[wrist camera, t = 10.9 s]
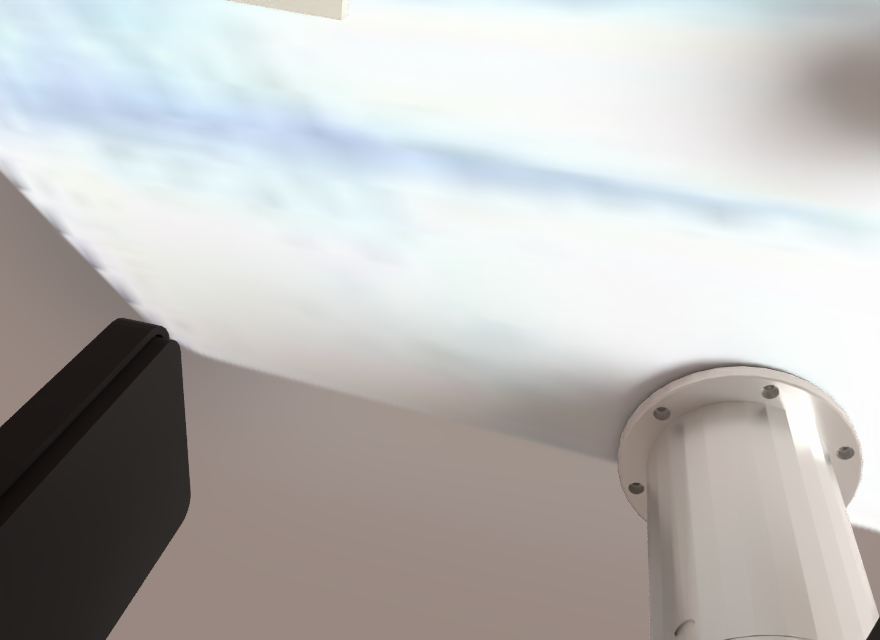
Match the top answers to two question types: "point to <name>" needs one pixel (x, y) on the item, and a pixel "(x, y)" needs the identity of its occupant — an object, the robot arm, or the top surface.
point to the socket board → (306, 6)
